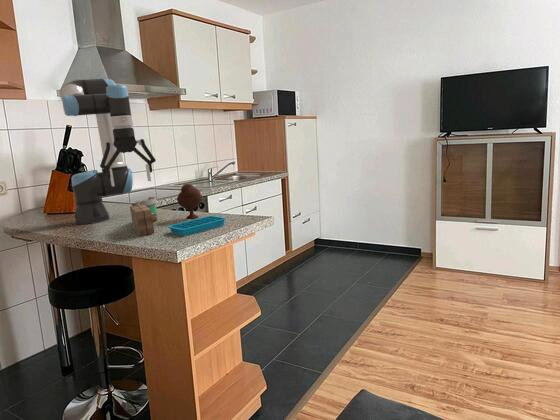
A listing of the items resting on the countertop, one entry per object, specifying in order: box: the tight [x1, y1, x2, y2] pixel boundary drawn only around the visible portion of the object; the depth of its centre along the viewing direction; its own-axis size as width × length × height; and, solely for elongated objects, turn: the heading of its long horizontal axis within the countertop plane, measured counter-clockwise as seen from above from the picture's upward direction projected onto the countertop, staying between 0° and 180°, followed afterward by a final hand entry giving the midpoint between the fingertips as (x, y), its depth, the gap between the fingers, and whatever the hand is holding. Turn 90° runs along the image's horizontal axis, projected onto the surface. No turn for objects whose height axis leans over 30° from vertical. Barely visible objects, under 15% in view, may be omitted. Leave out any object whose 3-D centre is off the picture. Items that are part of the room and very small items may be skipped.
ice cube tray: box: [167, 215, 227, 237], centre depth 163 cm, size 12×20×3 cm, turn 133°
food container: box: [134, 196, 158, 223], centre depth 185 cm, size 12×6×10 cm, turn 168°
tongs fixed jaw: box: [129, 202, 148, 237], centre depth 168 cm, size 21×4×10 cm, turn 27°
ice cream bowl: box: [176, 183, 203, 220], centre depth 184 cm, size 11×11×15 cm
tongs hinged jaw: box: [137, 204, 155, 235], centre depth 168 cm, size 17×2×9 cm, turn 27°
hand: (131, 183), depth 164 cm, fingers open, 13 cm apart
